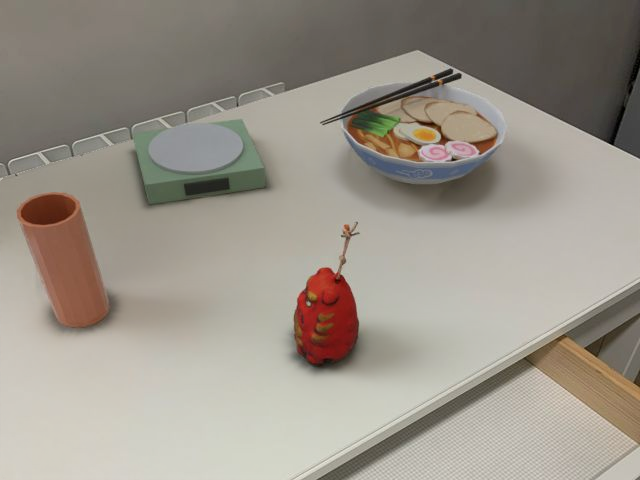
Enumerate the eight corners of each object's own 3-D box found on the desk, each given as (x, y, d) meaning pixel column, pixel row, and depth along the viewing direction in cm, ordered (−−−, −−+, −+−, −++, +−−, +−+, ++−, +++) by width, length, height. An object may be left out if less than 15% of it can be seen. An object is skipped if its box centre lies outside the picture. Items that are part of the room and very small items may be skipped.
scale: (149, 206, 89) (144, 182, 86) (136, 152, 97) (131, 129, 95) (265, 188, 92) (264, 165, 89) (243, 138, 100) (241, 115, 98)
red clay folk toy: (287, 326, 75) (284, 208, 63) (347, 317, 76) (355, 200, 64) (302, 375, 70) (301, 257, 58) (366, 364, 71) (378, 247, 59)
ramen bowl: (401, 238, 85) (409, 179, 79) (299, 160, 97) (298, 104, 90) (535, 178, 95) (551, 121, 88) (427, 114, 106) (435, 59, 100)
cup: (56, 332, 73) (17, 231, 63) (54, 297, 77) (16, 197, 67) (112, 322, 75) (81, 221, 64) (107, 288, 78) (77, 188, 68)
